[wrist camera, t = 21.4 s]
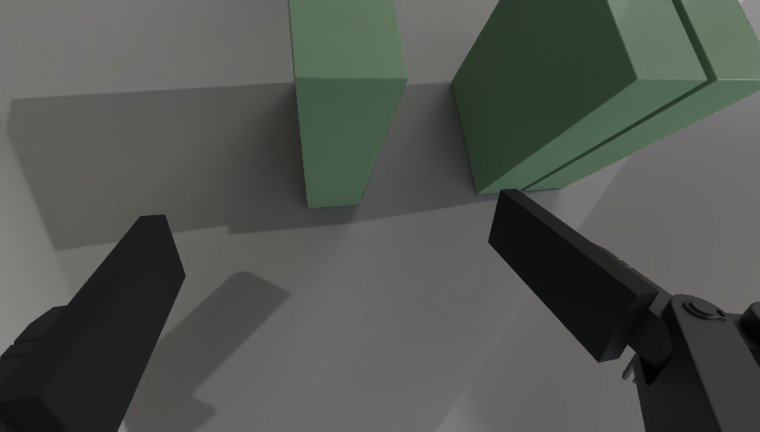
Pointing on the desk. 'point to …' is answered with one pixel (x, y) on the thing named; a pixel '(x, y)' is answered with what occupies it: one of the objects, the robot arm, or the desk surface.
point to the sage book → (344, 91)
